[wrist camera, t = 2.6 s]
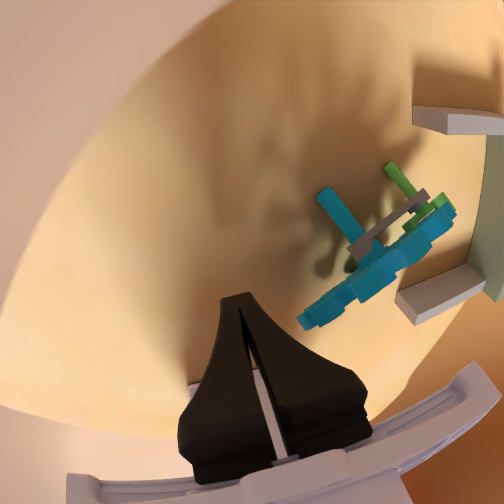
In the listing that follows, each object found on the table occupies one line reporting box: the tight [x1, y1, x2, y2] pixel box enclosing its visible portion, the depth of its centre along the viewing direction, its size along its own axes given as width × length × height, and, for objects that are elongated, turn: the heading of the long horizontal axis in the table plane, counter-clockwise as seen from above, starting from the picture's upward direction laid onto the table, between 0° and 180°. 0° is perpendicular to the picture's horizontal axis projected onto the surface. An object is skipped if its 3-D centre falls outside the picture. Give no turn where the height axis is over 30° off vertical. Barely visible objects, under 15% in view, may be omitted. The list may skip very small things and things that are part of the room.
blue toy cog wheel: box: [296, 161, 457, 331], centre depth 15 cm, size 11×6×10 cm
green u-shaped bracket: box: [395, 106, 504, 326], centre depth 17 cm, size 11×15×5 cm
